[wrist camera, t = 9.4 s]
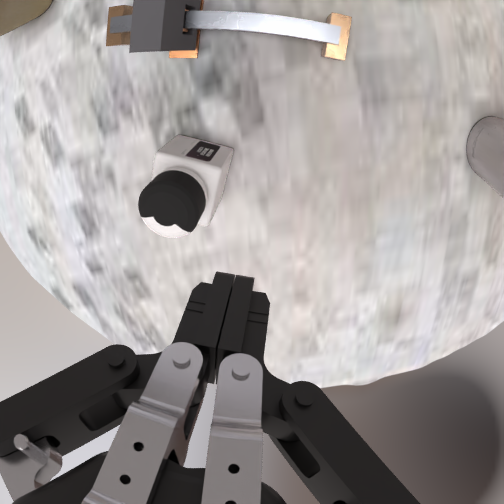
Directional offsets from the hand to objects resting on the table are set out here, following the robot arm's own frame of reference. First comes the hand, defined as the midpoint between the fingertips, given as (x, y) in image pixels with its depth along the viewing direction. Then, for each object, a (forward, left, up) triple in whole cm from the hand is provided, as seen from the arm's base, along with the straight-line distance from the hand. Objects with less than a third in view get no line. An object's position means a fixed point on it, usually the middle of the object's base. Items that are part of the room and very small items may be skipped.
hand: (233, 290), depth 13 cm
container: (+9, +7, -29) cm, 31 cm away
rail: (+7, -12, -29) cm, 32 cm away
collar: (+12, -12, -27) cm, 32 cm away
